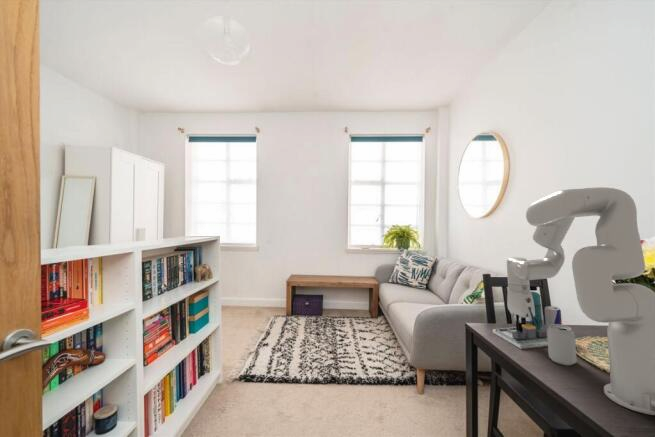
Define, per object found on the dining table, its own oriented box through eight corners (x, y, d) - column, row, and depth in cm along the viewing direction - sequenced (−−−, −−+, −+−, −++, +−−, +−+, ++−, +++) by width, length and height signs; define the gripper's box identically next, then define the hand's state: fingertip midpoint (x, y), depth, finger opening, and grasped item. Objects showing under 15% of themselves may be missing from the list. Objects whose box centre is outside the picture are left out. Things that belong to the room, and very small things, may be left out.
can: (564, 368, 94) (562, 332, 94) (543, 357, 101) (541, 324, 101) (582, 364, 95) (580, 329, 95) (560, 354, 103) (558, 321, 103)
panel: (555, 345, 110) (554, 333, 110) (520, 348, 109) (519, 337, 109) (523, 329, 126) (522, 319, 126) (492, 332, 125) (492, 322, 125)
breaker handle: (536, 339, 112) (535, 326, 112) (528, 340, 111) (528, 327, 111) (530, 336, 115) (529, 323, 115) (522, 337, 115) (521, 324, 115)
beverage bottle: (521, 329, 127) (518, 284, 127) (530, 325, 129) (527, 282, 130) (537, 333, 121) (534, 287, 121) (546, 330, 124) (543, 284, 124)
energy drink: (566, 339, 114) (564, 309, 114) (552, 339, 114) (550, 310, 114) (555, 333, 120) (553, 305, 120) (543, 334, 120) (541, 306, 120)
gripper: (542, 291, 110) (544, 338, 110) (513, 282, 125) (516, 323, 125) (524, 293, 109) (526, 339, 110) (497, 284, 124) (500, 325, 124)
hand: (521, 331), depth 117 cm, fingers closed
